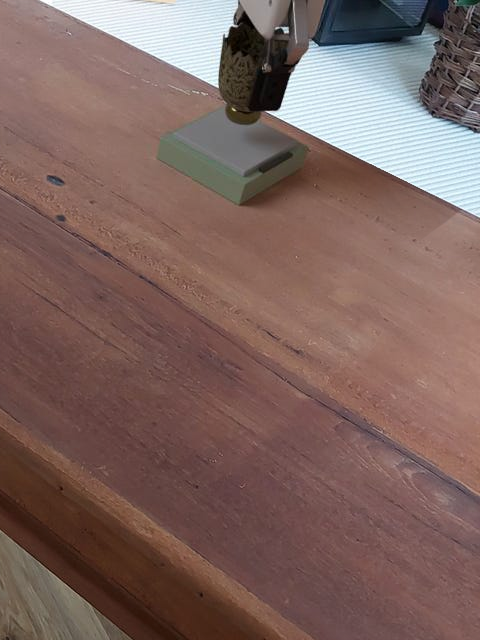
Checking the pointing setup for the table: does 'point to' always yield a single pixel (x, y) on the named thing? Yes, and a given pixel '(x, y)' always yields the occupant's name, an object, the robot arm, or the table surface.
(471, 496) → the table surface
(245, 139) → the scale
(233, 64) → the cup
